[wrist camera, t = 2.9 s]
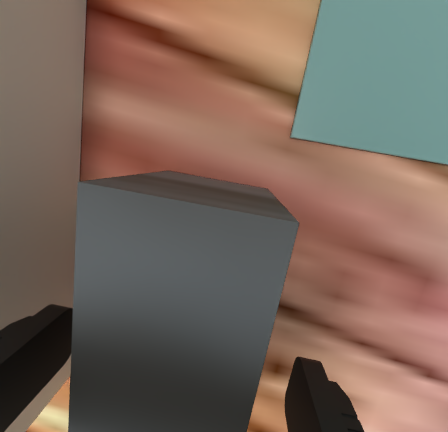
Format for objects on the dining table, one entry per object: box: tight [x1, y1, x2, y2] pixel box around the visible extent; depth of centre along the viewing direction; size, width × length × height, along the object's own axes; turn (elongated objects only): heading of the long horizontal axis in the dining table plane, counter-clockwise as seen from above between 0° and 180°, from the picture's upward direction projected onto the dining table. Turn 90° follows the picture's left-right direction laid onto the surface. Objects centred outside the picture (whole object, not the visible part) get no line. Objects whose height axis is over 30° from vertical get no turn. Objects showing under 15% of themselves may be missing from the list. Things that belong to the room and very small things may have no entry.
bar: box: [68, 171, 299, 432], centre depth 10 cm, size 11×5×7 cm, turn 170°
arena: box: [0, 0, 86, 432], centre depth 9 cm, size 29×30×5 cm
